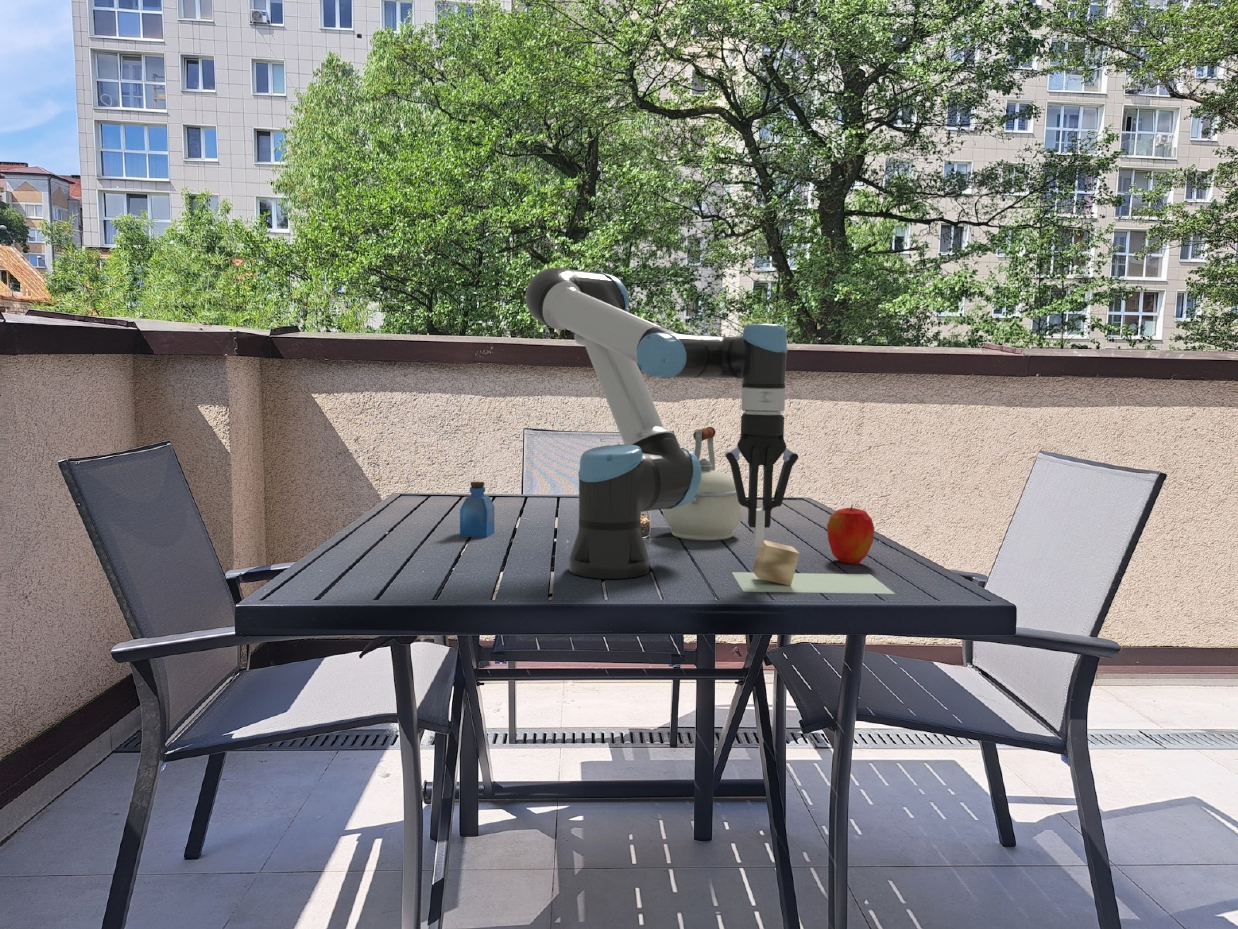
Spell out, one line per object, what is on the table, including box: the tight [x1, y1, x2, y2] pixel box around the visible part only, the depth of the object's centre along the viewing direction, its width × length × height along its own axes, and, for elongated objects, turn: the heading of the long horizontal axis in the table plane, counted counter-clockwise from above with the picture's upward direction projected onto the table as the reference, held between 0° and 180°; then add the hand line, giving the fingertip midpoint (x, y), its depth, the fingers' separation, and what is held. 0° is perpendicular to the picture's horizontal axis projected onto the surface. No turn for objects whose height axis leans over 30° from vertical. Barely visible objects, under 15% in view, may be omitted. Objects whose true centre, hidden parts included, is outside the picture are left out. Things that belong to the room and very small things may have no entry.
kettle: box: [662, 426, 744, 542], centre depth 211 cm, size 25×18×25 cm
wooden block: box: [752, 539, 800, 586], centre depth 162 cm, size 6×6×6 cm
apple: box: [826, 504, 875, 565], centre depth 181 cm, size 9×9×12 cm
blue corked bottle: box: [459, 481, 495, 539], centre depth 206 cm, size 6×6×12 cm
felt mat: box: [731, 571, 896, 595], centre depth 163 cm, size 26×15×1 cm, turn 91°
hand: (758, 545), depth 162 cm, fingers closed
